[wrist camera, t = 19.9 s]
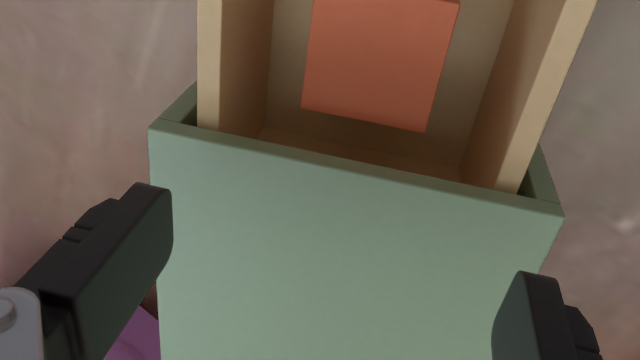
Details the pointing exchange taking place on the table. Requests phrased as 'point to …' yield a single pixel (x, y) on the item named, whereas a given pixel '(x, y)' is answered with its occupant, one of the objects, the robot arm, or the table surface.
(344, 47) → the block
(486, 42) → the drawer
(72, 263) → the robot arm
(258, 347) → the cabinet
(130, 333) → the teapot
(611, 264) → the table surface
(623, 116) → the table surface
